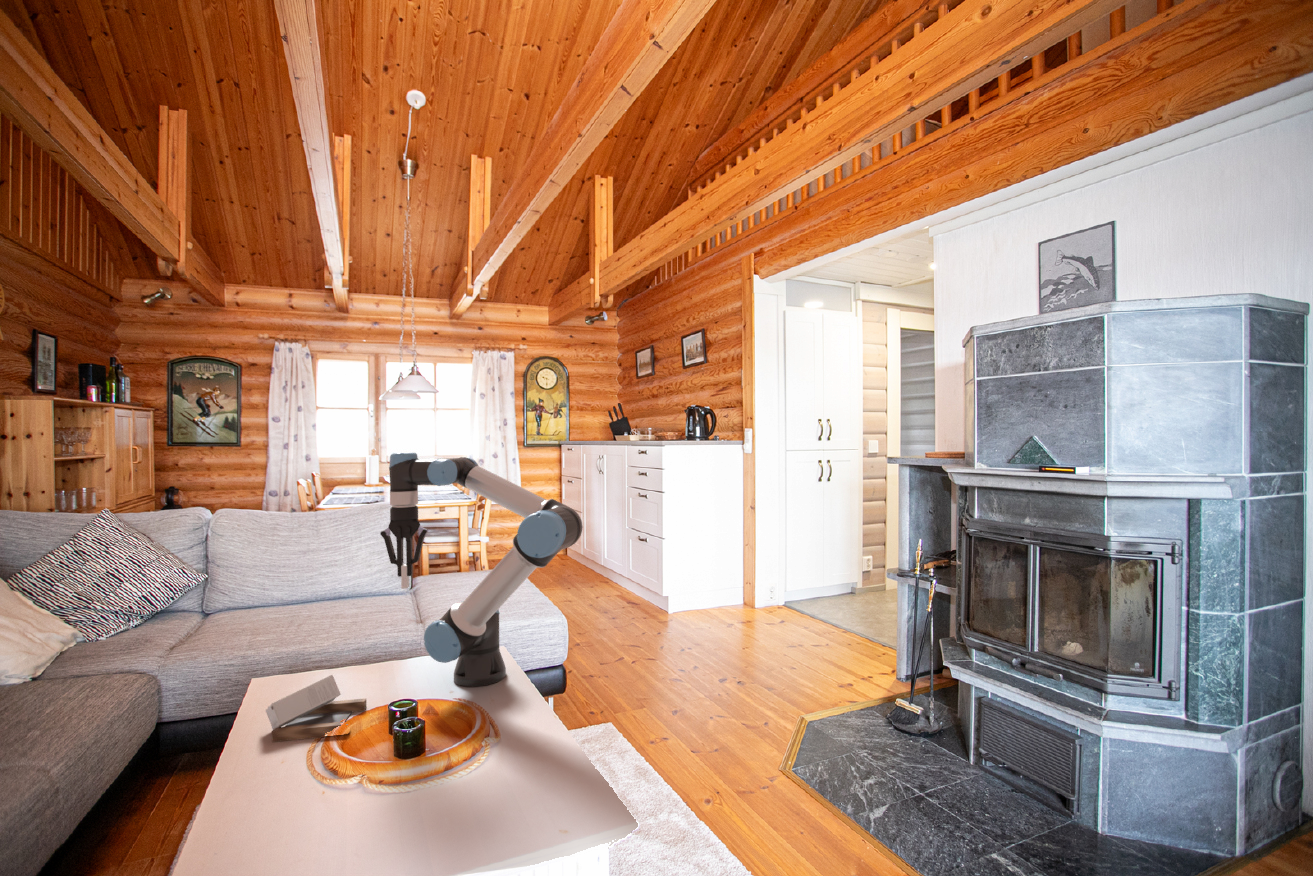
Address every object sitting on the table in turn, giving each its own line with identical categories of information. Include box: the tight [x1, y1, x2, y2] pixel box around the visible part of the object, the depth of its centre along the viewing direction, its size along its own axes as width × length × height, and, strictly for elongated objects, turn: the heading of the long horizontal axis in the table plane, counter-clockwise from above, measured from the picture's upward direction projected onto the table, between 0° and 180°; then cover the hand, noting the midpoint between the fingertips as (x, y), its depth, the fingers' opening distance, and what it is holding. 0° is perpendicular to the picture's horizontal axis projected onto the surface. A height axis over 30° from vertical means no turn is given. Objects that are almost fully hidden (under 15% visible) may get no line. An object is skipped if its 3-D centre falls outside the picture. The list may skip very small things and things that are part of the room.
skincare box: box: [265, 674, 342, 731], centre depth 159 cm, size 8×6×15 cm
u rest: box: [271, 698, 367, 743], centre depth 159 cm, size 17×16×2 cm
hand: (405, 587), depth 181 cm, fingers closed
